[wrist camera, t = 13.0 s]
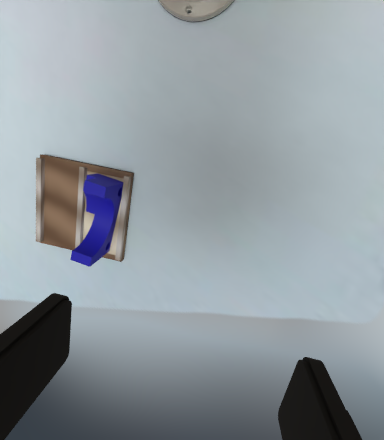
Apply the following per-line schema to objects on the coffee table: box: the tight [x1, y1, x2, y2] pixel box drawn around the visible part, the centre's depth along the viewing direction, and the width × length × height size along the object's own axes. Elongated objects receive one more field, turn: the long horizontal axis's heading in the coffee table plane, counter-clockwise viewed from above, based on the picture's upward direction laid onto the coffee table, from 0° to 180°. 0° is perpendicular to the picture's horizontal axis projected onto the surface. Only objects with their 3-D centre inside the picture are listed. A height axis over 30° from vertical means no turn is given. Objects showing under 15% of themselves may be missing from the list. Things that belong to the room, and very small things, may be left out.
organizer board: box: [36, 155, 134, 262], centre depth 38 cm, size 15×15×2 cm
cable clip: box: [71, 174, 123, 266], centre depth 35 cm, size 12×4×6 cm, turn 162°
